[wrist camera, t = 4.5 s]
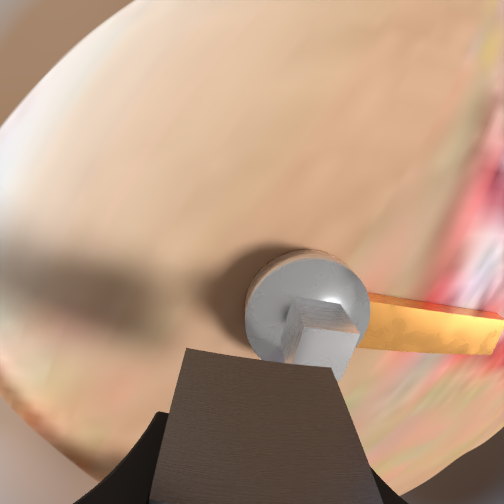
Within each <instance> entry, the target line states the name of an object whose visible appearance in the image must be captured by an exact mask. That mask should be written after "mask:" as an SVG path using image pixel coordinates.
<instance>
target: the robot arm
mask: <svg viewBox="0 0 504 504" xmlns="http://www.w3.org/2000/svg"><path fill="white" fill-rule="evenodd" d="M168 416H169V413H164V412H160V411H159V412H157V413H156V414H155V416H154V418H153V419H152V421H151V423H150V424H149V426H148V428H147V429H146V431H145V432H144V433H143V435H142V436H141V438H140V439H139V440H138V442H137V443H136V444H135V446H134V447H133V448H132V449H131V451H130V452H129V453H128V454H127V455H126V457H125V458H124V459H123V460H122V461H121V462H120V463H119V464H118V465H117V466H116V467H115V469H114V470H113V471H112V472H111V473H110V474H109V475H108V476H107V477H106V478H104V479H103V480H102V481H101V482H100V483H99V484H98V485H97V486H95V487H94V488H93V489H92V490H91V491H90V492H88V493H87V494H85V495H84V496H83V497H82V498H80V499H79V500H77V501H76V502H75V503H73V504H149V496H150V492H151V487H152V483H153V478H154V474H155V470H156V465H157V461H158V457H159V452H160V448H161V444H162V440H163V436H164V432H165V428H166V424H167V420H168ZM370 468H371V467H370ZM371 471H372V474H373V477H374V479H375V482H376V485H377V487H378V490H379V493H380V496H381V498H382V501H383V504H408V503H407V502H405V501H404V500H403V499H402V498H401V497H400V496H398V495H397V494H396V493H395V492H394V491H393V490H392V489H391V488H390V487H389V486H388V485H387V484H386V483H385V482H384V481H383V480H382V479H381V478H380V477H379V476H378V475H377V474H376V473H375V471H374V470H373V469H372V468H371Z"/></svg>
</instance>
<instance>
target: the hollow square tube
mask: <svg viewBox="0 0 504 504" xmlns="http://www.w3.org/2000/svg"><path fill="white" fill-rule="evenodd" d="M149 504H383V501H382V498H381V496H380V493H379V490H378V487H377V485H376V482H375V479H374V477H373V474H372V471H371V468H370V466H369V463H368V460H367V458H366V455H365V453H364V450H363V447H362V445H361V442H360V439H359V437H358V434H357V432H356V429H355V426H354V424H353V421H352V419H351V416H350V414H349V411H348V408H347V406H346V403H345V401H344V398H343V396H342V393H341V391H340V388H339V386H338V383H337V381H336V378H335V376H334V373H333V371H332V368H331V367H320V366H309V365H299V364H289V363H280V362H272V361H264V360H257V359H250V358H243V357H236V356H230V355H223V354H217V353H212V352H206V351H200V350H195V349H189V348H186V351H185V355H184V359H183V362H182V366H181V370H180V373H179V377H178V381H177V385H176V389H175V392H174V396H173V400H172V404H171V408H170V412H169V416H168V420H167V424H166V428H165V432H164V436H163V440H162V444H161V448H160V452H159V457H158V461H157V465H156V470H155V474H154V478H153V483H152V487H151V492H150V496H149Z"/></svg>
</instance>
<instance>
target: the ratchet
mask: <svg viewBox="0 0 504 504" xmlns="http://www.w3.org/2000/svg"><path fill="white" fill-rule="evenodd" d="M503 328H504V318H503V317H501V316H500V315H498V314H497V313H492V312H486V311H479V310H472V309H466V308H459V307H453V306H447V305H440V304H434V303H428V302H422V301H415V300H409V299H403V298H397V297H391V296H385V295H379V294H373V293H368V292H367V290H366V288H365V286H364V285H363V283H362V281H361V280H360V279H359V278H358V277H357V276H356V275H355V274H354V272H353V271H352V270H351V269H350V268H349V267H348V266H347V265H346V264H345V263H344V262H342V261H341V260H340V259H338V258H337V257H335V256H334V255H331V254H329V253H327V252H323V251H319V250H311V249H304V250H296V251H292V252H288V253H285V254H283V255H280V256H278V257H277V258H275V259H273V260H272V261H270V262H269V263H267V264H266V265H265V266H264V267H263V268H262V269H261V270H260V271H259V272H258V273H257V274H256V276H255V277H254V279H253V280H252V282H251V284H250V286H249V288H248V291H247V295H246V299H245V329H246V335H247V338H248V341H249V343H250V345H251V347H252V349H253V350H254V351H255V353H256V354H257V355H258V356H259V357H260V358H261V359H262V360H264V361H272V362H280V363H289V364H299V365H309V366H320V367H331V368H332V371H333V373H334V376H335V378H336V380H340V381H341V379H342V377H343V374H344V372H345V370H346V367H347V365H348V363H349V360H350V358H351V356H352V353H353V351H354V349H355V348H356V347H357V348H368V349H379V350H392V351H406V352H422V353H444V354H492V352H493V350H494V348H495V346H496V344H497V341H498V339H499V337H500V335H501V333H502V331H503Z"/></svg>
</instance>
